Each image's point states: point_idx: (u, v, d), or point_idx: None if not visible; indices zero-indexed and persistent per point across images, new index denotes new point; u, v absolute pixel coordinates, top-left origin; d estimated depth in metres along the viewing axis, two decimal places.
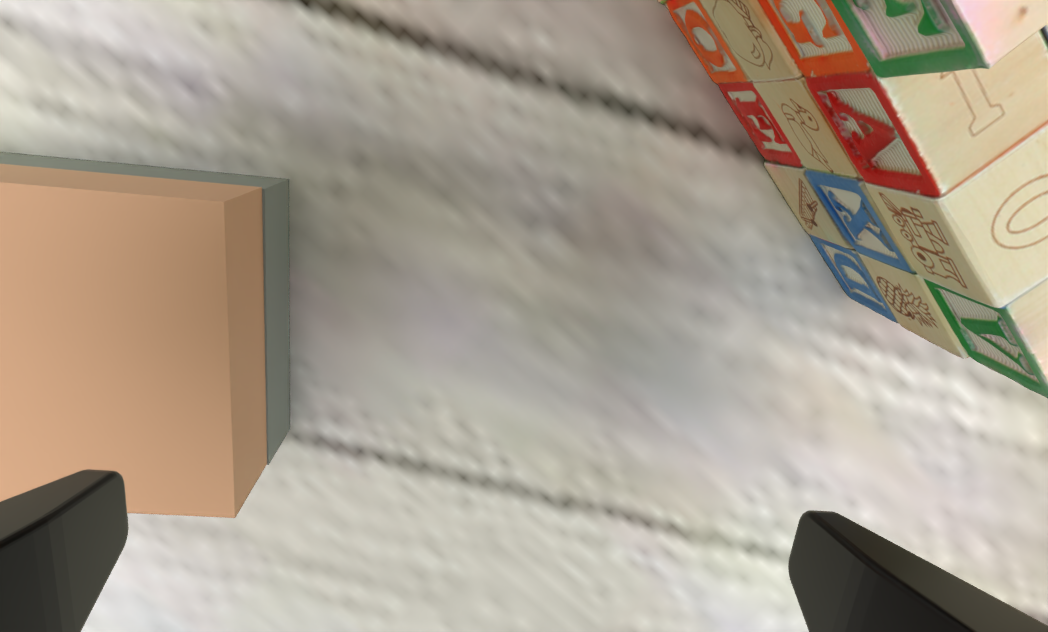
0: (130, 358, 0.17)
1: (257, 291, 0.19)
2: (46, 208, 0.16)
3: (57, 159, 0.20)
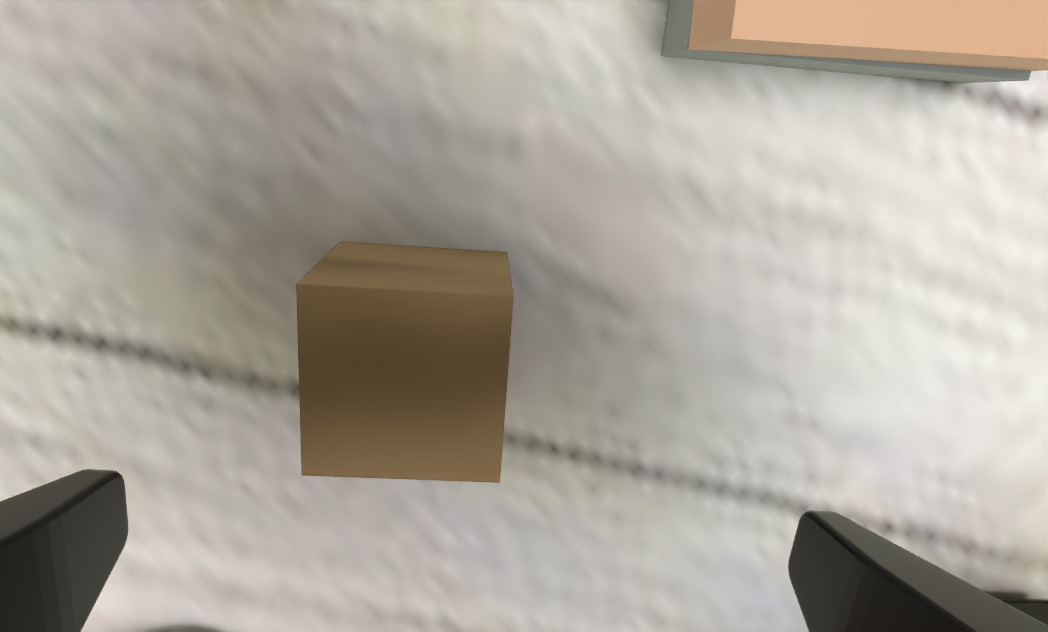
0: None
1: None
2: None
3: None
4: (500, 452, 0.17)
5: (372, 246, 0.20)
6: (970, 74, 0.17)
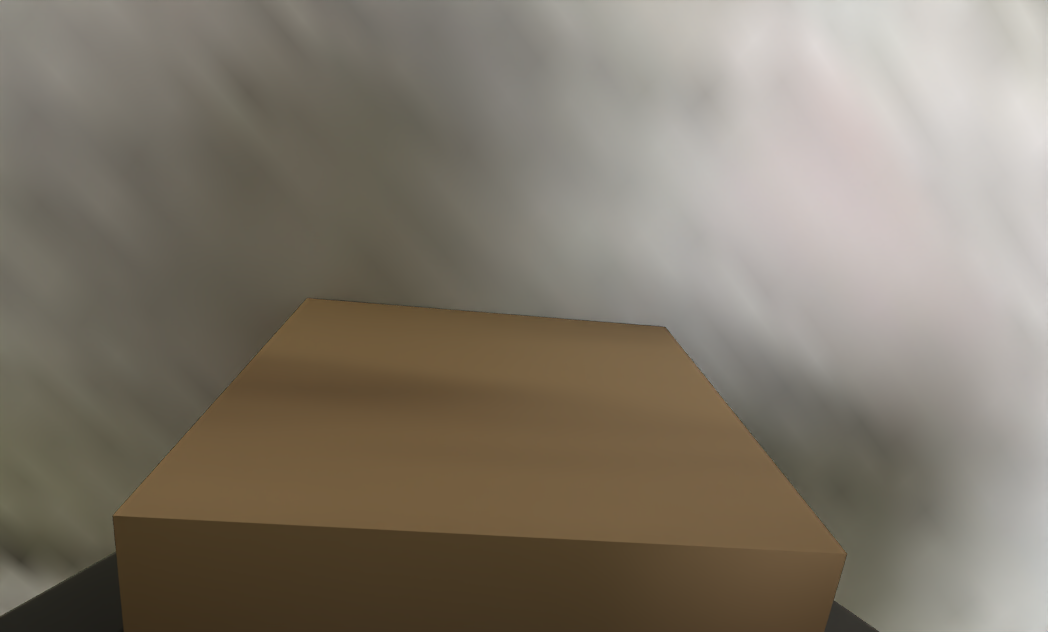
0: None
1: None
2: None
3: None
4: None
5: (376, 314, 0.09)
6: None
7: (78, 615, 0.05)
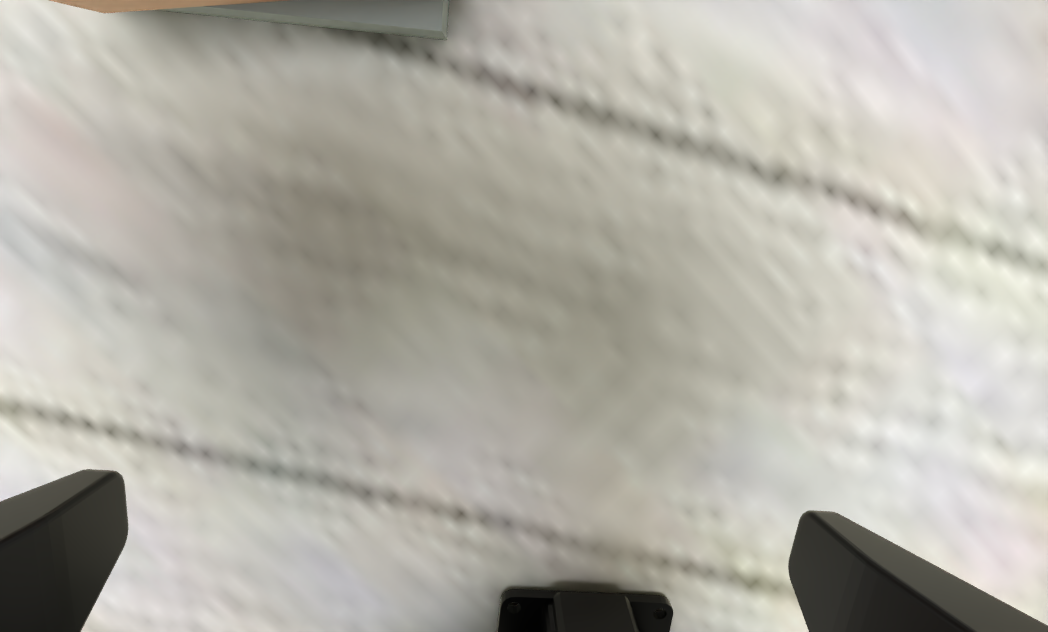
0: None
1: None
2: None
3: None
4: None
5: None
6: (378, 24, 0.17)
7: None
